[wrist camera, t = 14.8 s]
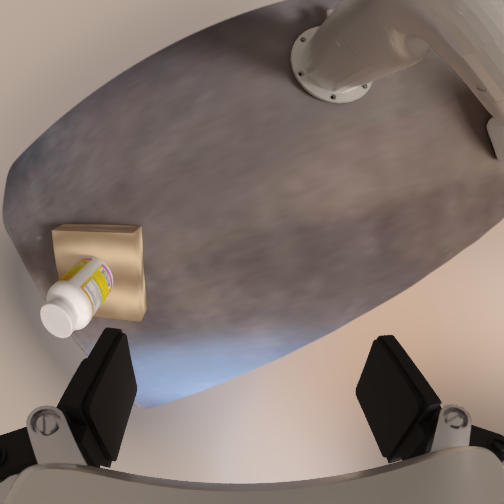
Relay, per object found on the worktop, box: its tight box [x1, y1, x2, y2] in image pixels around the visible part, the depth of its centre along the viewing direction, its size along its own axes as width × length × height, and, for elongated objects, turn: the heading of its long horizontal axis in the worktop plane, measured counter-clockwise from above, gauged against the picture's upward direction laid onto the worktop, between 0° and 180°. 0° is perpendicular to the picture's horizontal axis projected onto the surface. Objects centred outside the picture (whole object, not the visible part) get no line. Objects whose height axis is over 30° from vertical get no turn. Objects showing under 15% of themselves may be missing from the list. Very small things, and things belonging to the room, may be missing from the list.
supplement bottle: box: [40, 257, 113, 338], centre depth 34 cm, size 7×7×13 cm
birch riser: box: [52, 224, 147, 322], centre depth 42 cm, size 14×14×4 cm
